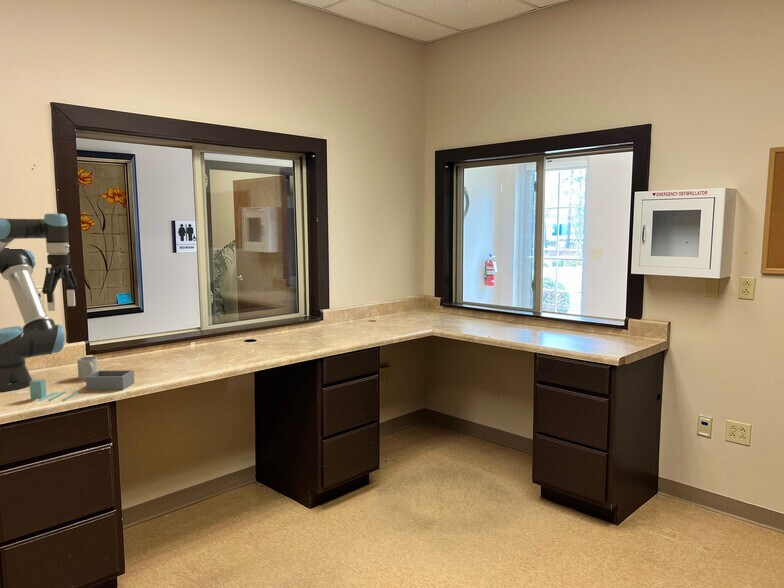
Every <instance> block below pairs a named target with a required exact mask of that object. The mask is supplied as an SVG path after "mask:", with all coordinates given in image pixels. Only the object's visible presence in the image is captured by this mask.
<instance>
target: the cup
mask: <svg viewBox="0 0 784 588" xmlns="http://www.w3.org/2000/svg"><path fill="white" fill-rule="evenodd" d="M76 360H77V361H76V362H77V363H76V364H77V373H78V377H77V378H78V380H80V381H82V380H83V381H86V377H87V376H89V375H91V374H93V373H95V372H97V371H99V369H98V357H97V356H83V357H78V358H77V359H76Z"/></svg>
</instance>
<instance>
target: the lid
mask: <svg viewBox="0 0 784 588" xmlns="http://www.w3.org/2000/svg"><path fill="white" fill-rule="evenodd" d="M29 392H30V401H36V402H42V401H45V400H46V399H48V401H50V402H51V401H54V400H55V399H57V398H59V397H61V396H63V395H66V393H67V391H65V390H64V391H62V392H51V393H49V394H47V383H46V379H32V381H30V386H29ZM78 394H80V391H79V390H77V391H76V392H74V393H71V395H68V396H66V397H64V398H63V400H62V402H63V401H64V402H65V401H67V400H69V399H70V398H73V397H74V396H76V395H78Z"/></svg>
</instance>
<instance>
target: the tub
mask: <svg viewBox="0 0 784 588" xmlns="http://www.w3.org/2000/svg"><path fill="white" fill-rule="evenodd" d="M134 384H135V370H133V369H132V370H131V369H129V370H126V369H125V370H122V369H120V370H119V369H118V370H113V369H112V370H111V369H110V370H98V371H97V372H95V373H93V374H91V375H89V376H87V377H86V380H85V385H86V387H85V388H86V391H125V390H126V389H127V388H129V387H130V386H132V385H134Z"/></svg>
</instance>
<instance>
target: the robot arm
mask: <svg viewBox="0 0 784 588" xmlns="http://www.w3.org/2000/svg"><path fill="white" fill-rule="evenodd" d="M68 224H69V222H68V218H67V215H66V214H64V213H46V214H44V218H4V217H3V218H2V217H1V218H0V274H1V276H2V279H3V278H4V279H3V280H5V279H6V280H5V281H7V280H8V283H9V286H10V288H11V291H12V294H13V297H14V299H15V302H16V304H17V307H18V310H19V312H20V314H21V318H22V320H23V323H24V325H23V326H20V325H18V326H17V325H15V326H8V327H3V328H0V392H9V391H10V392H11V391H16V390H20V389H25V388H27V387H30V381H32V380H33V379H32V376H31V374H30V372H29V371H28V368H27V366H26V359H27V358H31V357H32V358H34V357H39V356H45V355H46V356H47V355H52V354H57V353H59V352H61V351H62V350H63V349H64V346H65V342H66V341H65V340H66V335H65V334H66V333H65V328H64V327H63V326H62V325H61V324H56V323H55V321H54V319H52V318H51V317H48V314H47V312H46V309H45V306H44V304H43V301H42V300H41V296H40V294H39V292H38V290H37V287H36V284H35V282H34V279H33V276H32V274H34V270H33V268H34V266H35V267H36V260H35V255H34V253H33V251H32V250H31V251H32V252H31V251H28V250H25V249H24V250H23V249H9V248H5V247H6V246H9V245H10V244H11V243H12V241H14V240H17V239H21V240H22V239H45V244H46V247H45V248H46V253H47V255H46V259H47V264H48V265H50V266H51V267H50V266H49V267H45V276H44V282H43V286H42V290H41V292H42V293H43V295H46V300H47V301H46V303H47V311H48V312H57V301H56V293H54V292H55V290H56V287H57V284H58V282H59V280H60V279H62V281H63V283H64V285H65V287H66V288H67V290H66V300H67V304H66V305H67V307H75V306H76V296H75V295H76V293H75V290H78V283H77V280H76V278H75V277H76V276H75V274H74V272H73V265H70V263H71V256H70V254H69V253H70V245H69V227H68V226H69V225H68ZM34 260H35V261H34Z"/></svg>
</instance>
